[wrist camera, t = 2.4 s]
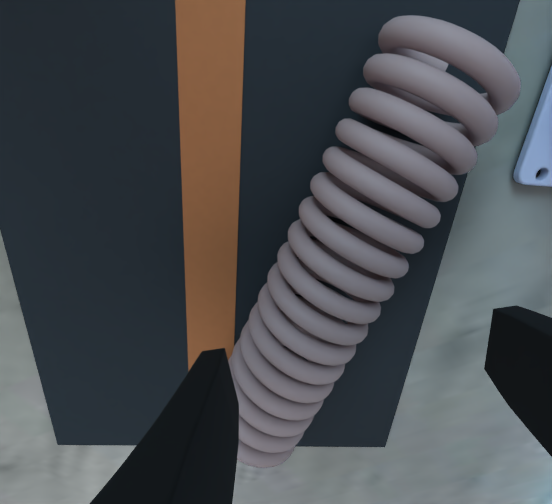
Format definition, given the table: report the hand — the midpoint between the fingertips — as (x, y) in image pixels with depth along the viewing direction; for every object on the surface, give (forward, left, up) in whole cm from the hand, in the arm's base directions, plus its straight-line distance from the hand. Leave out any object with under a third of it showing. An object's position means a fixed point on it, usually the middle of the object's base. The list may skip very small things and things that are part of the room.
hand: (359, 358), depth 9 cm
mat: (+4, 0, -7) cm, 8 cm away
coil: (0, 0, -7) cm, 7 cm away
